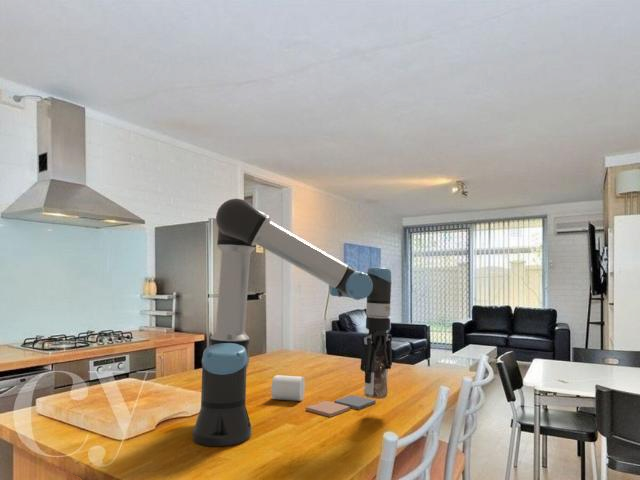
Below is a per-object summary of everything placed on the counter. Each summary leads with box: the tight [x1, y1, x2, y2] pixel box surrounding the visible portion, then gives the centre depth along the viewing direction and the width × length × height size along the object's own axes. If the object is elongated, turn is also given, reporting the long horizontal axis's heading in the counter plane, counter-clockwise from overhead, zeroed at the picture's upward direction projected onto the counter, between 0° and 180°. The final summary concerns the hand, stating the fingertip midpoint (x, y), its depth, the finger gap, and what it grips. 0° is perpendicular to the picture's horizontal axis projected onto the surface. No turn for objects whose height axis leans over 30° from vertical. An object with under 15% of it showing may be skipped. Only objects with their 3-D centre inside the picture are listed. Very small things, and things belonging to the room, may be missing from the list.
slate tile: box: [333, 394, 377, 411], centre depth 150 cm, size 10×10×1 cm
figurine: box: [363, 355, 388, 400], centre depth 138 cm, size 7×7×12 cm
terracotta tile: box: [305, 400, 351, 418], centre depth 142 cm, size 10×10×1 cm
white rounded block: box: [270, 374, 306, 402], centre depth 156 cm, size 12×10×8 cm
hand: (376, 391), depth 137 cm, fingers closed on figurine, 7 cm apart
